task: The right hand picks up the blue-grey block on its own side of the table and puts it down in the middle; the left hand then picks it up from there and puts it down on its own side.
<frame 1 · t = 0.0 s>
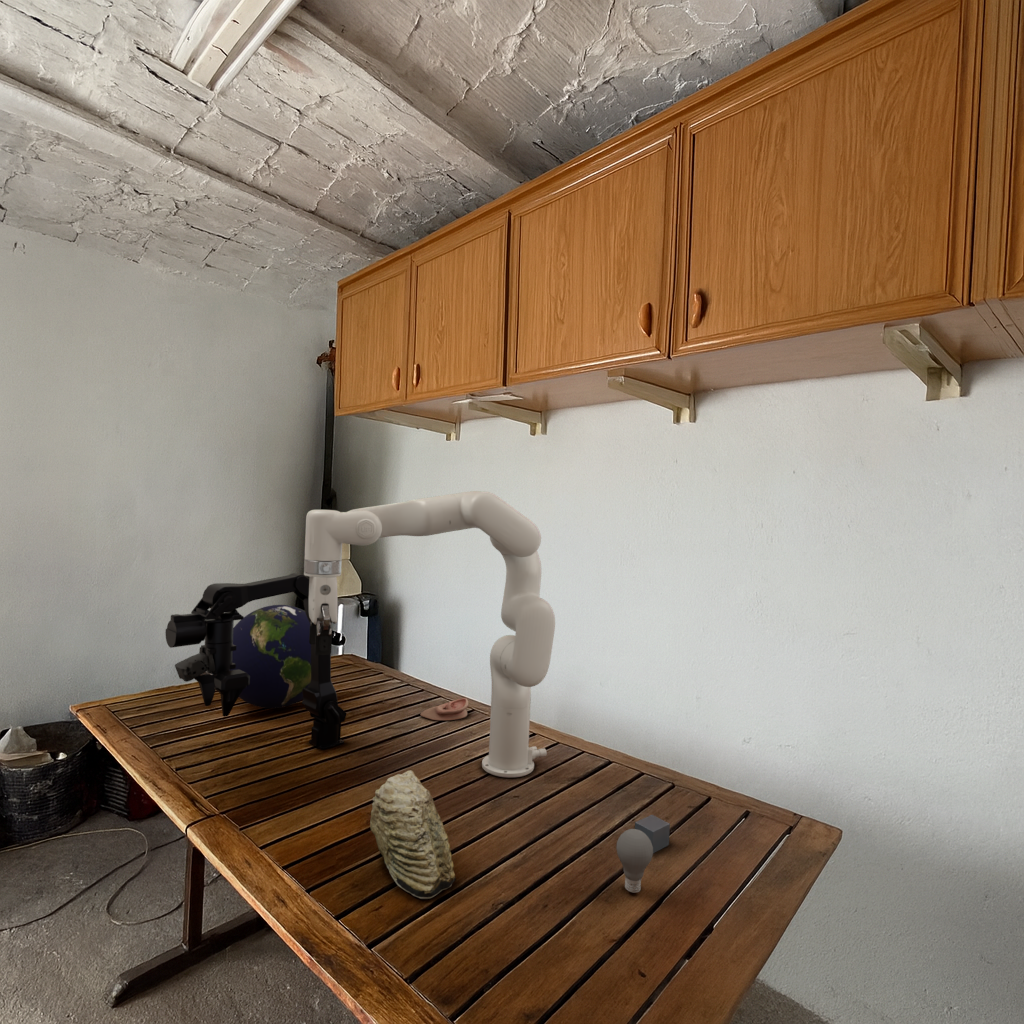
left hand: (216, 710, 141), 15 cm above the table, tool pointing down, fingers open, 9 cm apart
right hand: (319, 648, 134), 31 cm above the table, tool pointing down, fingers open, 9 cm apart
fossil: (409, 870, 109), on the table
anatomical model: (444, 715, 187), on the table
light bulb: (632, 891, 106), on the table
blue-grey block: (651, 844, 121), on the table
globe: (275, 706, 188), on the table
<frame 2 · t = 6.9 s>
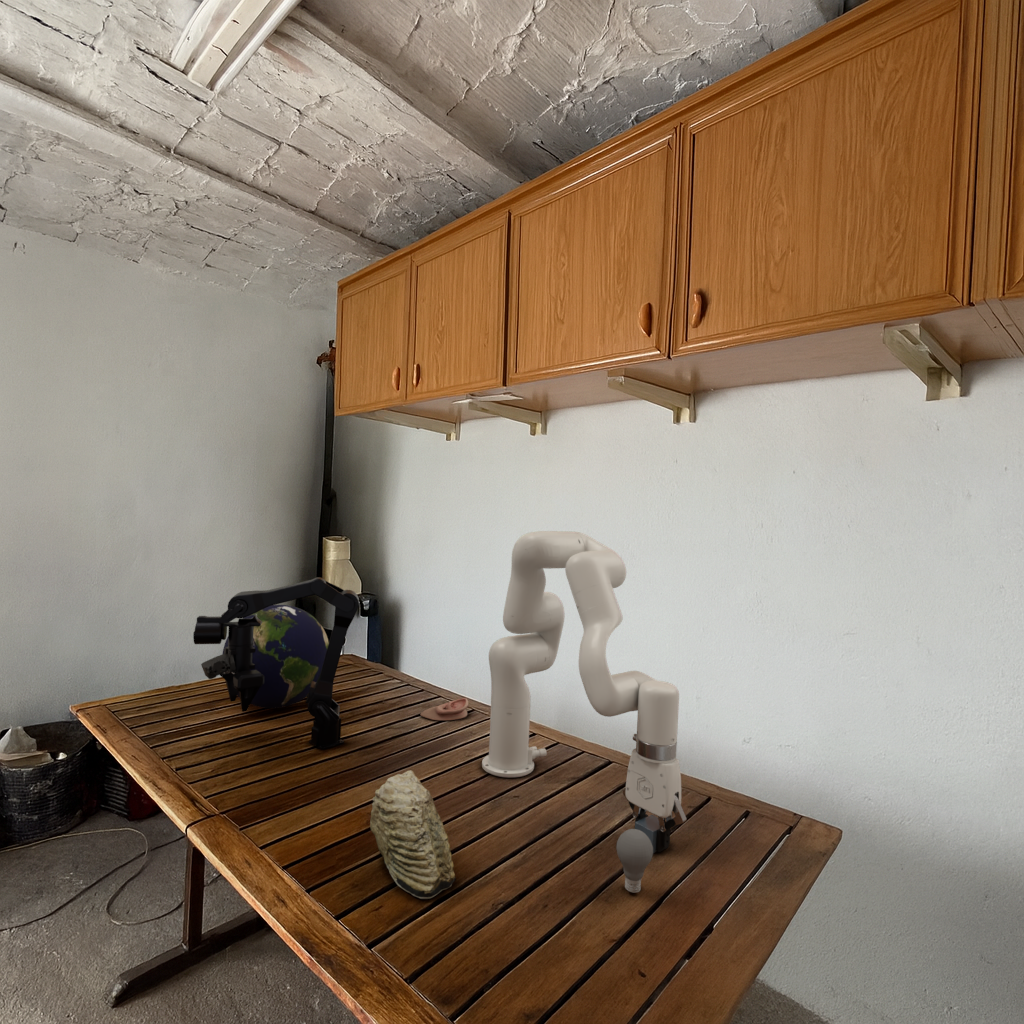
left hand: (238, 706, 157), 10 cm above the table, tool pointing down, fingers open, 9 cm apart
right hand: (651, 842, 121), 0 cm above the table, tool pointing down, fingers closed on blue-grey block, 4 cm apart
blue-grey block: (651, 844, 121), on the table, touching right hand
everything else where it was.
when the right hand's fingers open (1 cm above the table, at t = 21.6 s): blue-grey block drops 1 cm, on the table.
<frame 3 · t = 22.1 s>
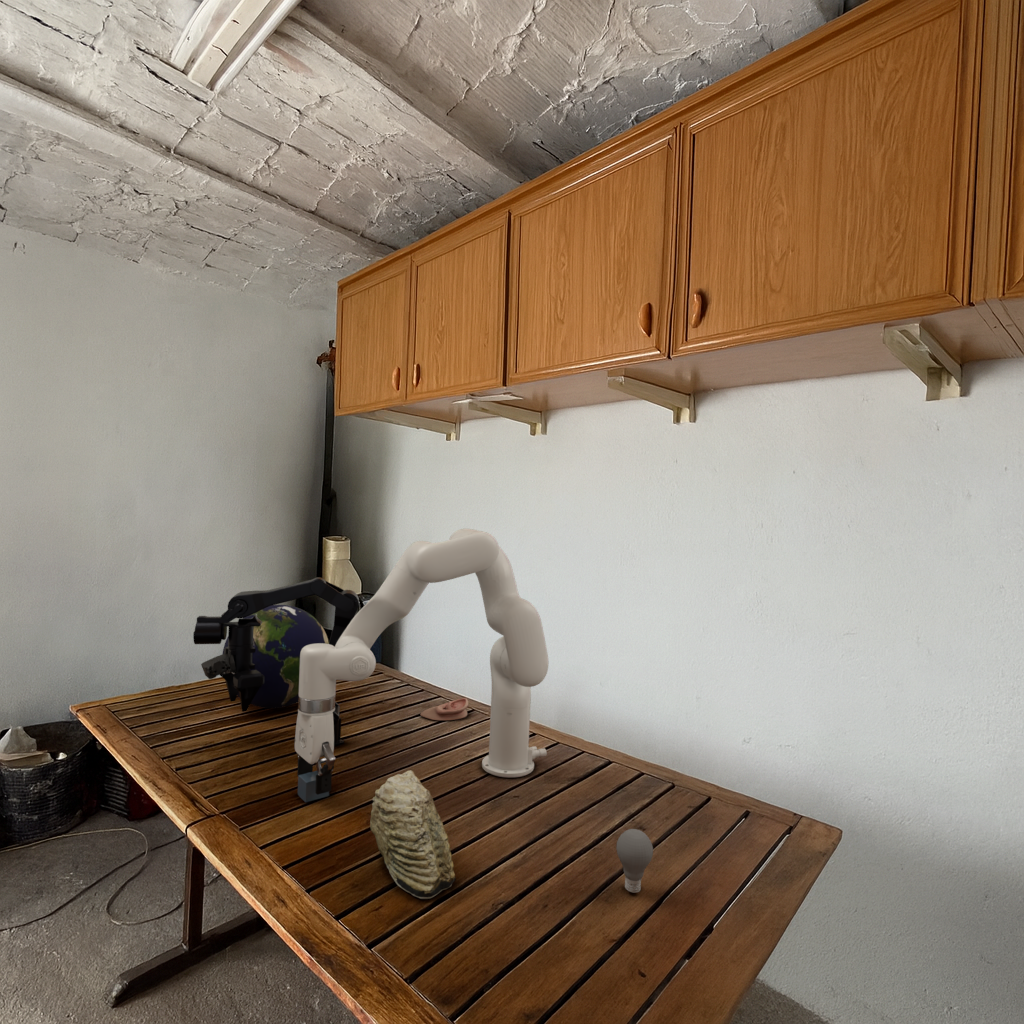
left hand: (238, 706, 157), 10 cm above the table, tool pointing down, fingers open, 9 cm apart
right hand: (313, 783, 134), 2 cm above the table, tool pointing down, fingers open, 9 cm apart
blue-grey block: (313, 795, 134), on the table
everything else where it was.
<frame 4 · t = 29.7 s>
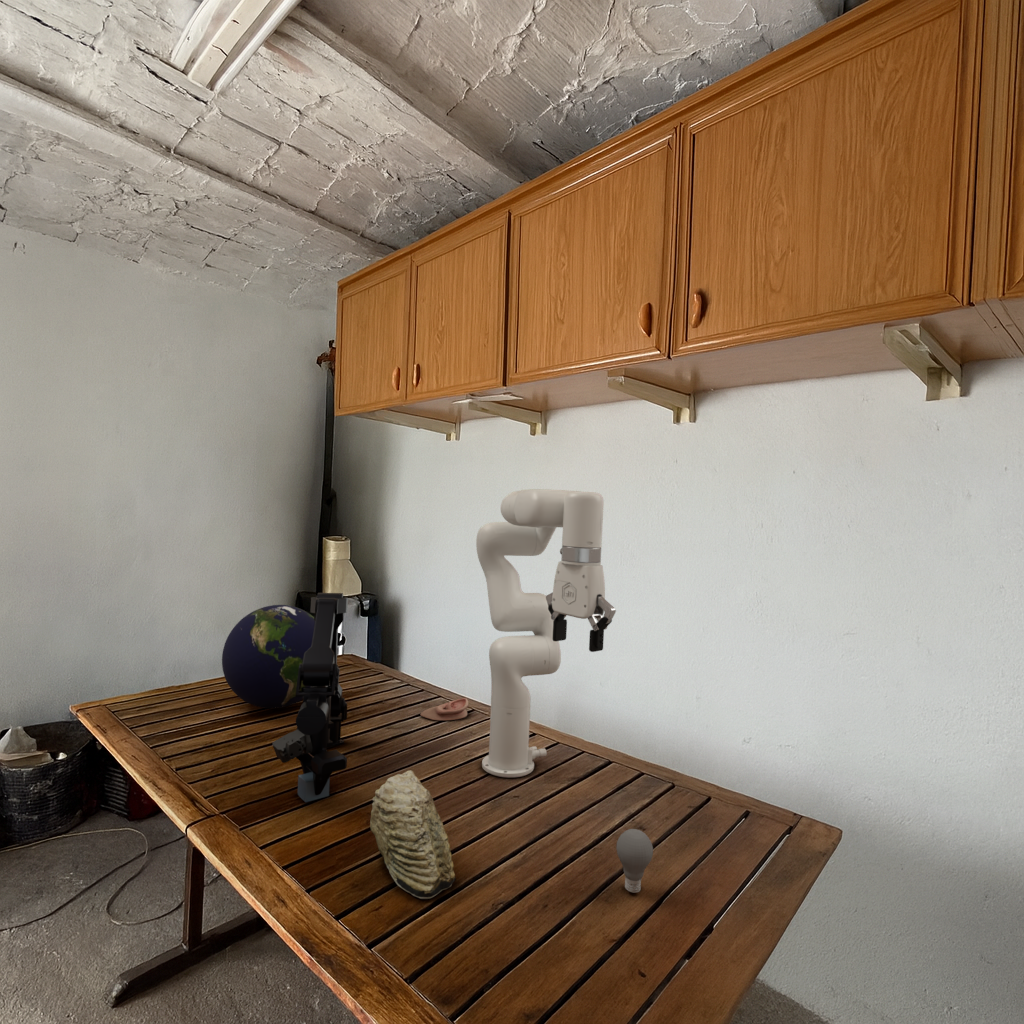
left hand: (313, 790, 134), 1 cm above the table, tool pointing down, fingers closed on blue-grey block, 4 cm apart
right hand: (577, 645, 121), 37 cm above the table, tool pointing down, fingers open, 9 cm apart
blue-grey block: (313, 795, 134), on the table, touching left hand
everything else where it was.
when the left hand's fingers open (2 cm above the table, at t = 35.7 s): blue-grey block drops 1 cm, on the table.
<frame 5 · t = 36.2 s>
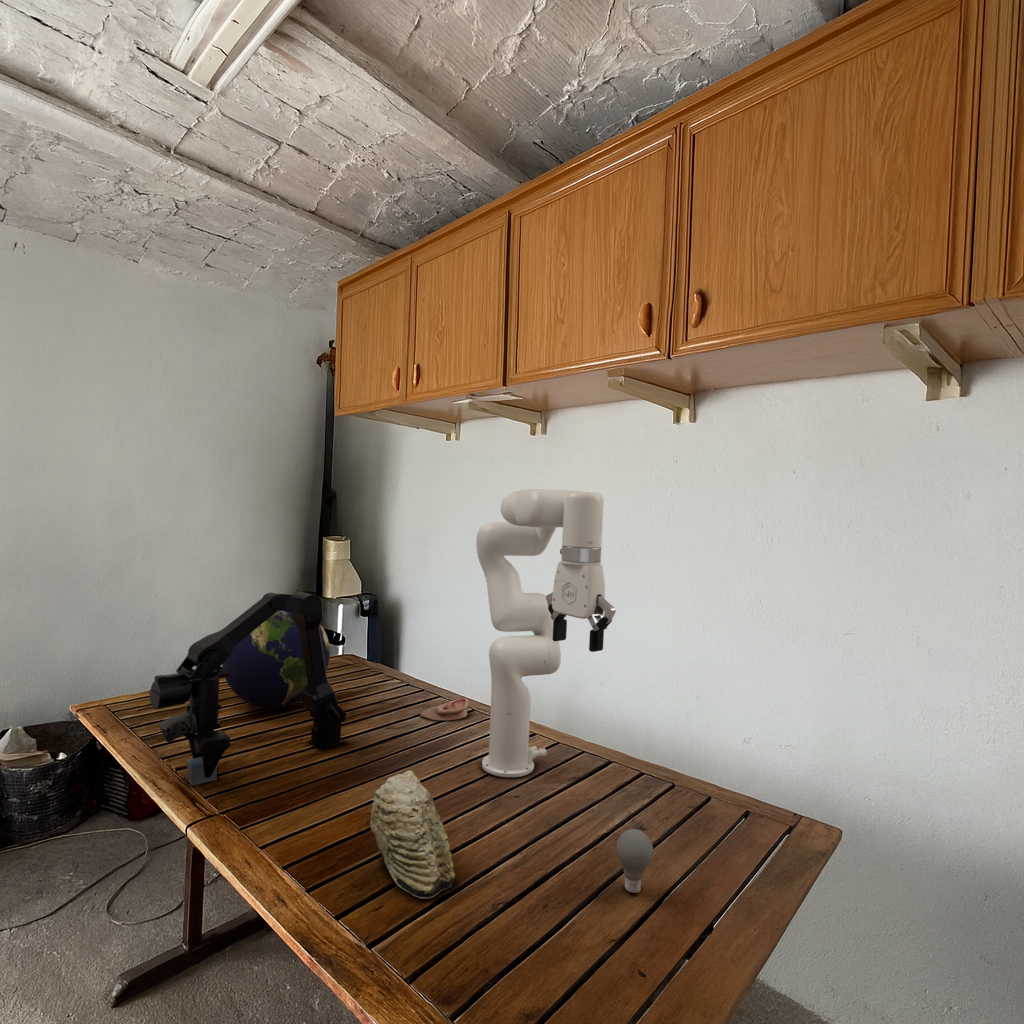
left hand: (202, 769, 139), 2 cm above the table, tool pointing down, fingers open, 9 cm apart
right hand: (577, 645, 121), 37 cm above the table, tool pointing down, fingers open, 9 cm apart
blue-grey block: (201, 779, 139), on the table
everything else where it was.
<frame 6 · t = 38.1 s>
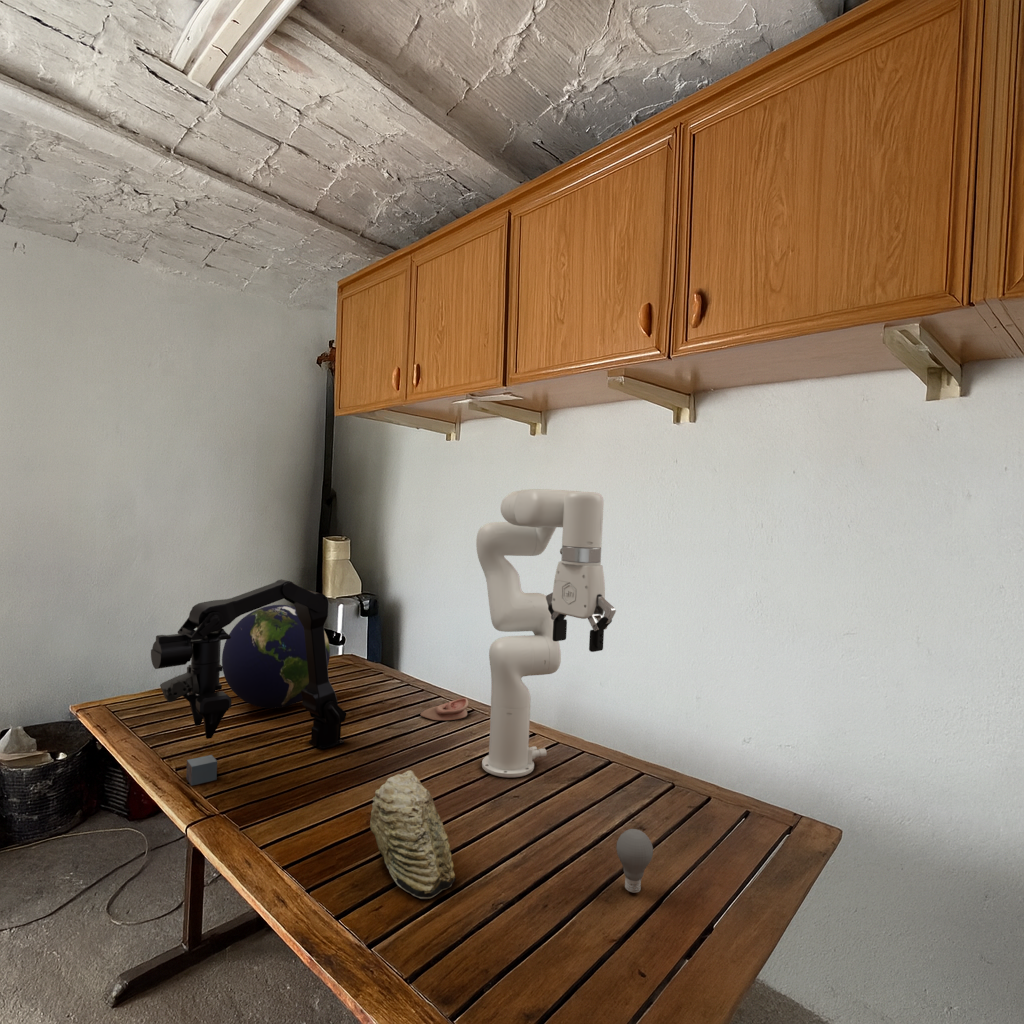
left hand: (203, 731, 139), 11 cm above the table, tool pointing down, fingers open, 9 cm apart
right hand: (577, 645, 121), 37 cm above the table, tool pointing down, fingers open, 9 cm apart
nothing on the table moved.
at the end: blue-grey block inside the target area (0.1 cm from its centre), on the table; blue-grey block tilted 0°; the two hands never held the blue-grey block at the same time; the left hand is holding nothing; the right hand is holding nothing; blue-grey block at rest at the end (0.0 cm/s) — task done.
